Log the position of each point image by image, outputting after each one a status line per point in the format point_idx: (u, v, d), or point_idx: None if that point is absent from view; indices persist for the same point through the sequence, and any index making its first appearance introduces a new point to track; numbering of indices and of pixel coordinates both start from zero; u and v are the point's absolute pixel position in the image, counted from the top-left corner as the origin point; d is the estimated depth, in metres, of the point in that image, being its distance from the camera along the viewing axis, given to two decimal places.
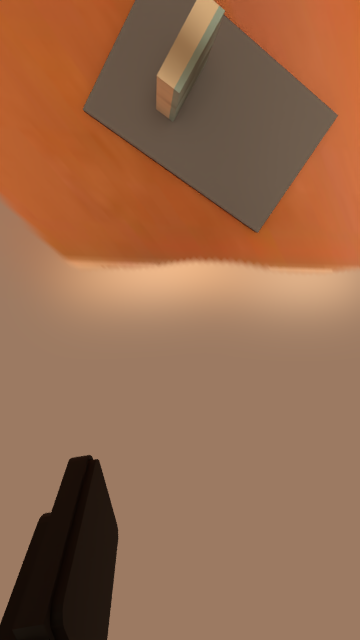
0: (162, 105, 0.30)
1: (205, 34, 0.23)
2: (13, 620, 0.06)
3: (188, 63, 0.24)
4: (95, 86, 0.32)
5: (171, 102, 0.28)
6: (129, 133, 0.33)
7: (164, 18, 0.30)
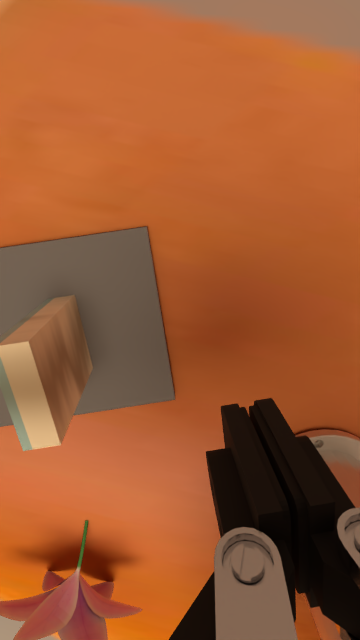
0: (54, 306, 0.21)
1: (19, 419, 0.17)
2: (232, 520, 0.07)
3: (8, 382, 0.16)
4: (150, 261, 0.23)
5: (25, 322, 0.19)
6: (79, 247, 0.23)
7: (133, 369, 0.26)
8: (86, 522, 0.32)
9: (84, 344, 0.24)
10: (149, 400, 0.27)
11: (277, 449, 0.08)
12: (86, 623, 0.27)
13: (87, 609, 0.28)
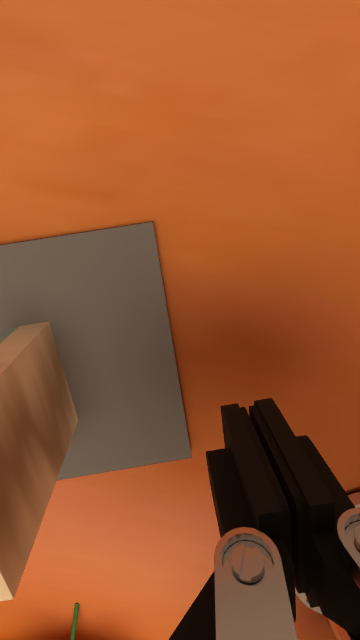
0: (13, 345, 0.14)
1: None
2: (232, 520, 0.07)
3: None
4: (158, 272, 0.16)
5: None
6: (53, 252, 0.15)
7: (135, 420, 0.19)
8: (76, 606, 0.25)
9: (64, 390, 0.17)
10: (156, 459, 0.20)
11: (277, 449, 0.08)
12: None
13: None
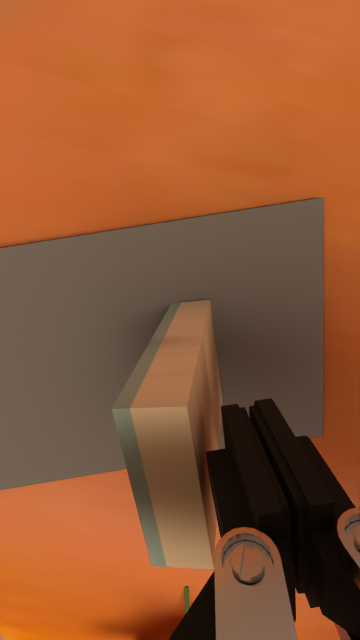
0: (190, 320, 0.14)
1: (152, 523, 0.10)
2: (232, 520, 0.07)
3: (141, 467, 0.09)
4: (321, 247, 0.16)
5: (158, 349, 0.12)
6: (225, 228, 0.16)
7: (275, 397, 0.19)
8: (186, 589, 0.25)
9: (217, 370, 0.17)
10: None
11: (277, 449, 0.08)
12: None
13: None
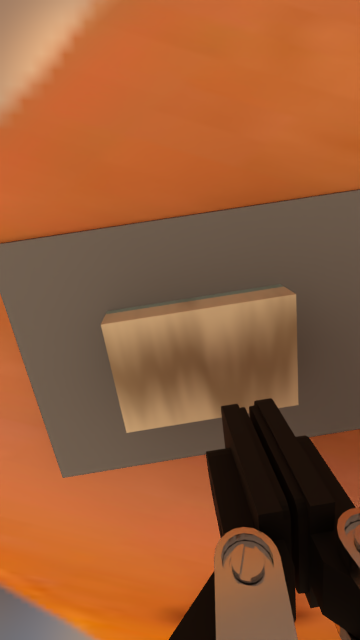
0: (232, 299, 0.15)
1: None
2: (232, 520, 0.07)
3: None
4: None
5: (174, 303, 0.16)
6: (344, 207, 0.16)
7: None
8: None
9: (284, 367, 0.16)
10: None
11: (277, 449, 0.08)
12: None
13: None
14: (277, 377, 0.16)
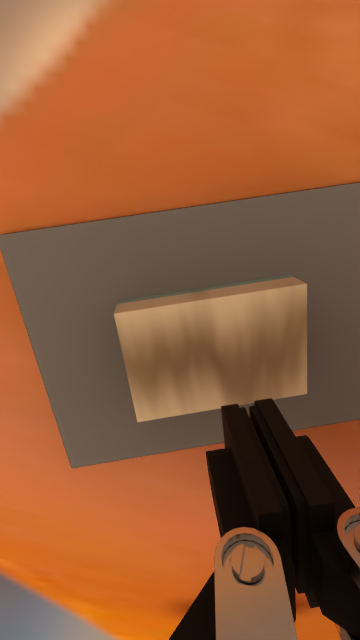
0: (243, 289, 0.16)
1: None
2: (232, 520, 0.07)
3: None
4: None
5: (185, 293, 0.16)
6: (353, 198, 0.16)
7: None
8: None
9: (294, 356, 0.16)
10: None
11: (277, 449, 0.08)
12: None
13: None
14: (287, 366, 0.17)
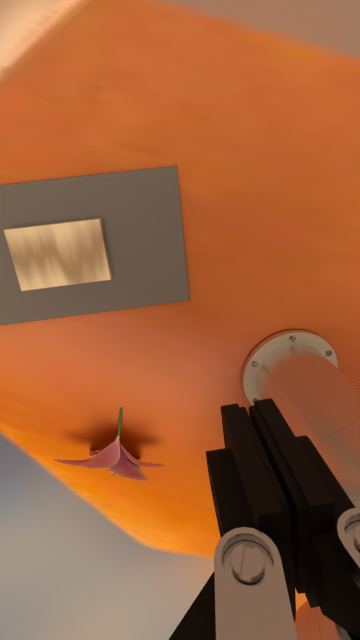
0: (71, 221, 0.32)
1: None
2: (232, 520, 0.07)
3: None
4: (177, 191, 0.33)
5: (45, 224, 0.32)
6: (128, 178, 0.32)
7: (161, 274, 0.36)
8: (121, 408, 0.42)
9: (99, 258, 0.33)
10: (171, 300, 0.37)
11: (277, 449, 0.08)
12: (128, 467, 0.38)
13: (127, 460, 0.39)
14: (97, 263, 0.33)
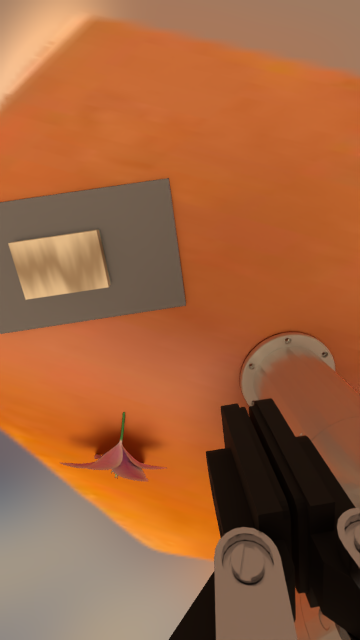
0: None
1: None
2: (232, 520, 0.07)
3: None
4: (170, 202, 0.35)
5: None
6: (123, 191, 0.34)
7: (157, 281, 0.38)
8: (123, 413, 0.44)
9: (98, 267, 0.34)
10: (168, 305, 0.39)
11: (277, 449, 0.08)
12: (130, 469, 0.39)
13: (129, 463, 0.40)
14: (95, 272, 0.35)
